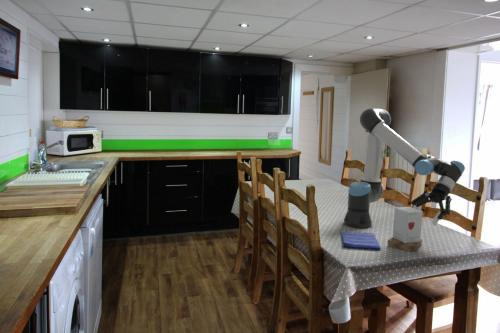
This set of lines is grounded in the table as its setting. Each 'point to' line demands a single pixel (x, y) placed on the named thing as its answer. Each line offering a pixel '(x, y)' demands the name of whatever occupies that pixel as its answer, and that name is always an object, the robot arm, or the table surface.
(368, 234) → the dish towel
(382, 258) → the table surface
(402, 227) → the supplement box
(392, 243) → the walnut stand
